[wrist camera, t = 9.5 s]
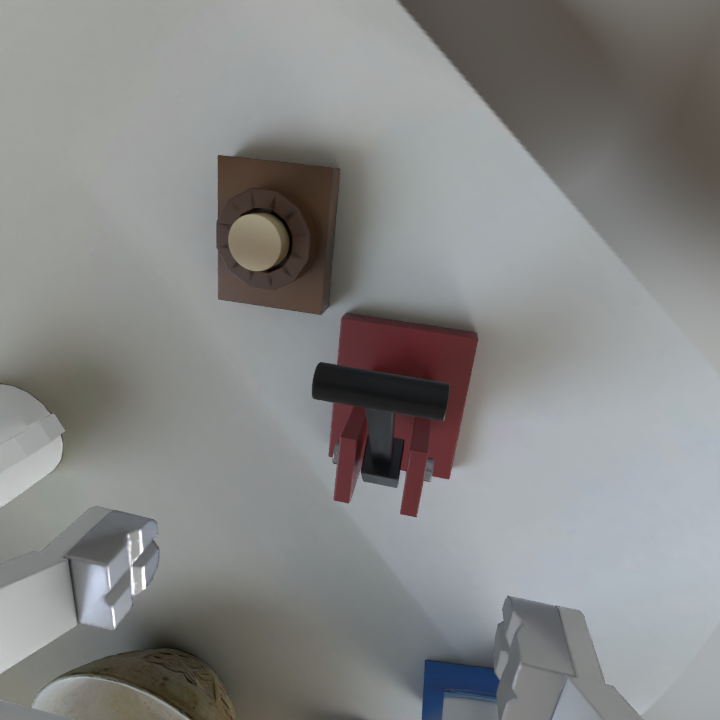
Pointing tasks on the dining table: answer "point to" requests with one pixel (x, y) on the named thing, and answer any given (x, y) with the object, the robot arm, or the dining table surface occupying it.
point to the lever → (381, 410)
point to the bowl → (139, 689)
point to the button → (258, 241)
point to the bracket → (422, 436)
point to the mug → (25, 442)
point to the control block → (300, 217)
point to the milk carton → (459, 692)
